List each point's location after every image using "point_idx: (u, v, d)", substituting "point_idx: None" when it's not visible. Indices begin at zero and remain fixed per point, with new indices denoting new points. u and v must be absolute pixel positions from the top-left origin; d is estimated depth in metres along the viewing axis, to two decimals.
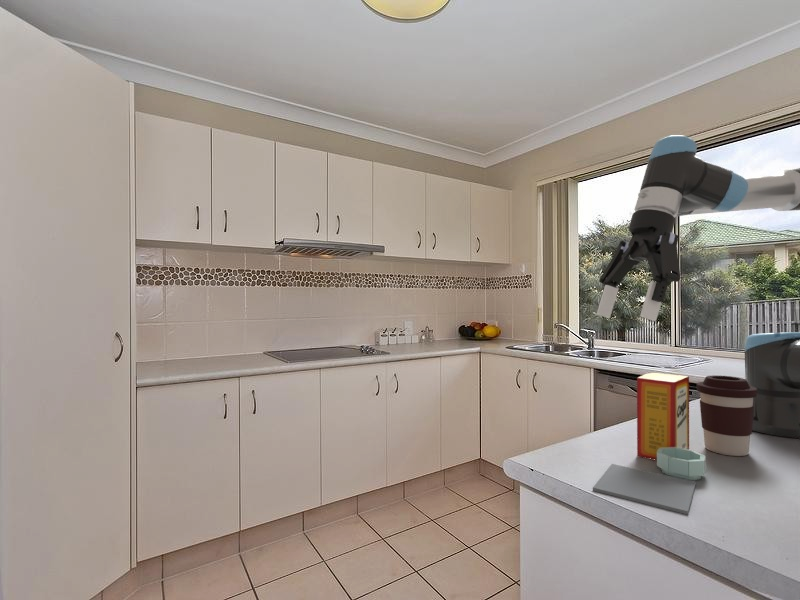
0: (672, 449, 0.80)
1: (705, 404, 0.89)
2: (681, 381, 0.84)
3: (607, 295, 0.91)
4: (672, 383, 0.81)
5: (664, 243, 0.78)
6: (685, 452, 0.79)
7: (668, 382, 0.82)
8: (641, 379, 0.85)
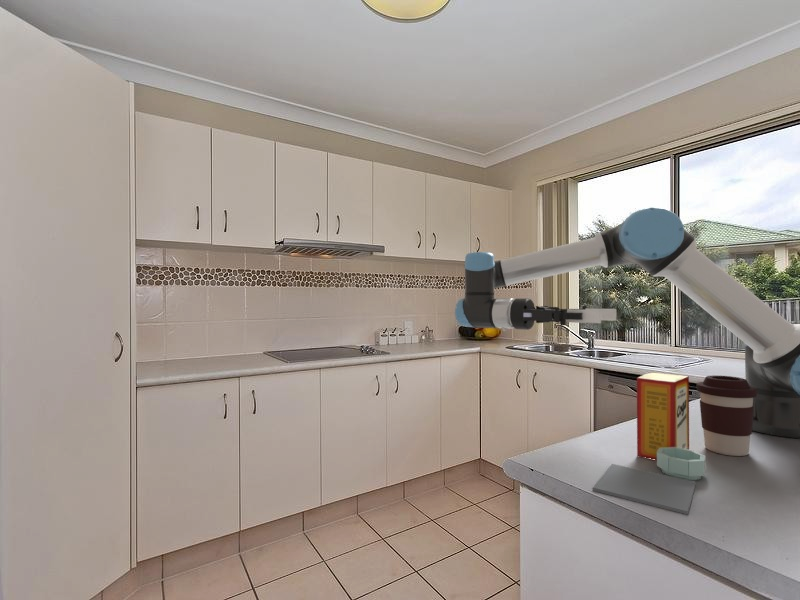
0: (672, 449, 0.80)
1: (705, 404, 0.89)
2: (681, 381, 0.84)
3: None
4: (672, 383, 0.82)
5: (533, 320, 0.96)
6: (685, 452, 0.79)
7: (668, 382, 0.82)
8: (641, 379, 0.86)
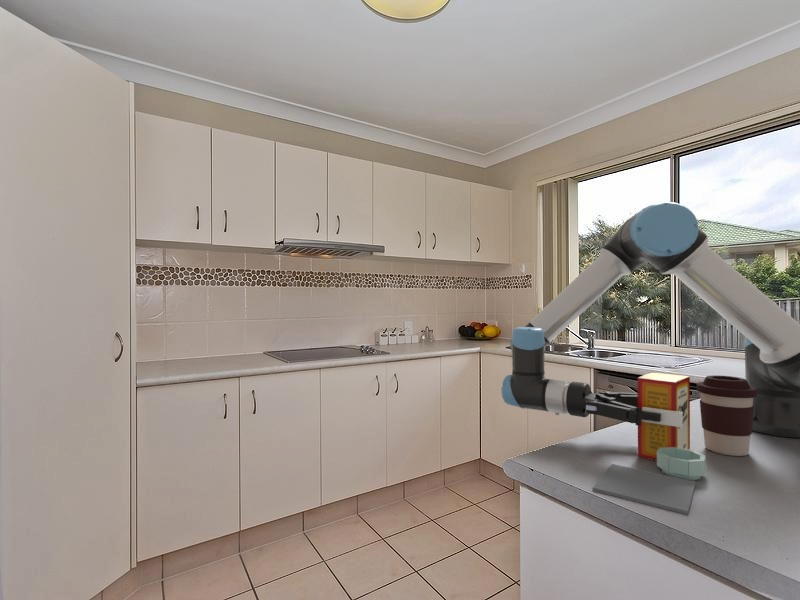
0: (672, 449, 0.80)
1: (705, 404, 0.89)
2: (682, 381, 0.84)
3: None
4: (673, 383, 0.81)
5: None
6: (685, 452, 0.79)
7: (669, 382, 0.82)
8: (642, 379, 0.85)
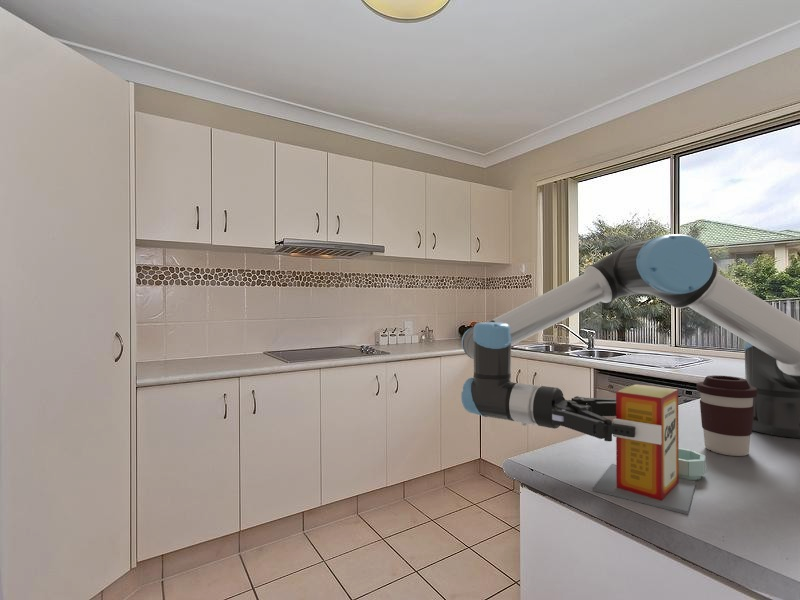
0: None
1: (705, 404, 0.89)
2: (669, 396, 0.69)
3: None
4: (658, 399, 0.66)
5: (566, 426, 0.73)
6: (685, 452, 0.79)
7: (654, 398, 0.67)
8: (621, 394, 0.70)
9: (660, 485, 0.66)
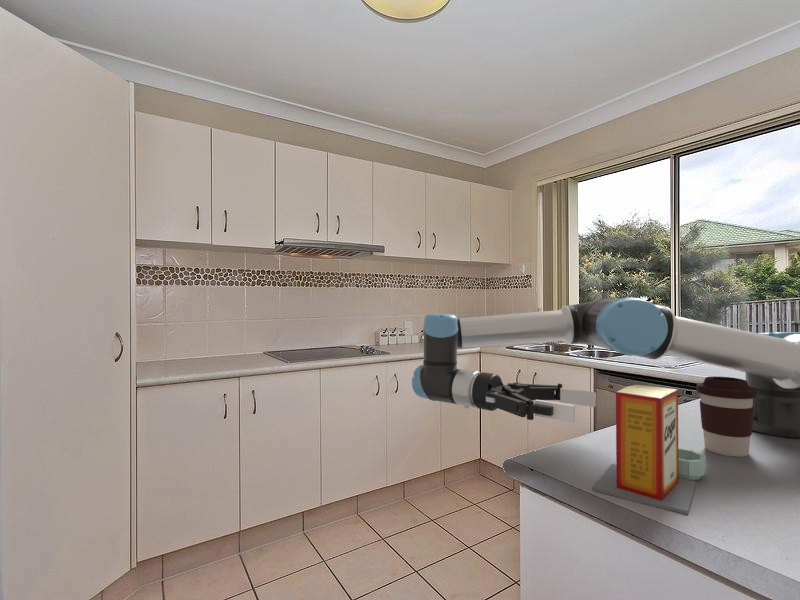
0: None
1: (705, 405, 0.89)
2: (669, 396, 0.69)
3: (571, 399, 0.85)
4: (658, 399, 0.66)
5: (496, 407, 0.80)
6: (685, 452, 0.79)
7: (653, 398, 0.67)
8: (621, 394, 0.70)
9: (660, 485, 0.66)
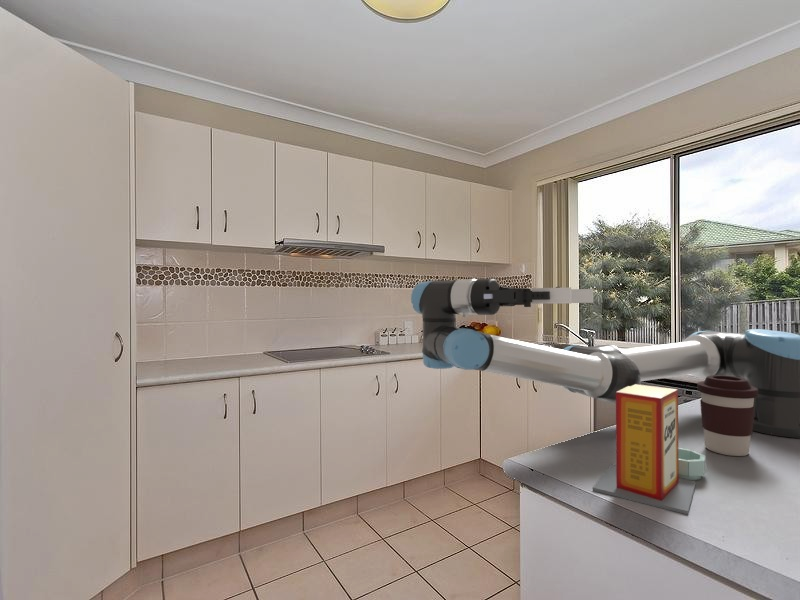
0: None
1: (704, 404, 0.89)
2: (669, 396, 0.69)
3: None
4: (658, 399, 0.66)
5: (494, 302, 0.81)
6: (685, 452, 0.79)
7: (653, 398, 0.67)
8: (621, 394, 0.70)
9: (660, 485, 0.66)
